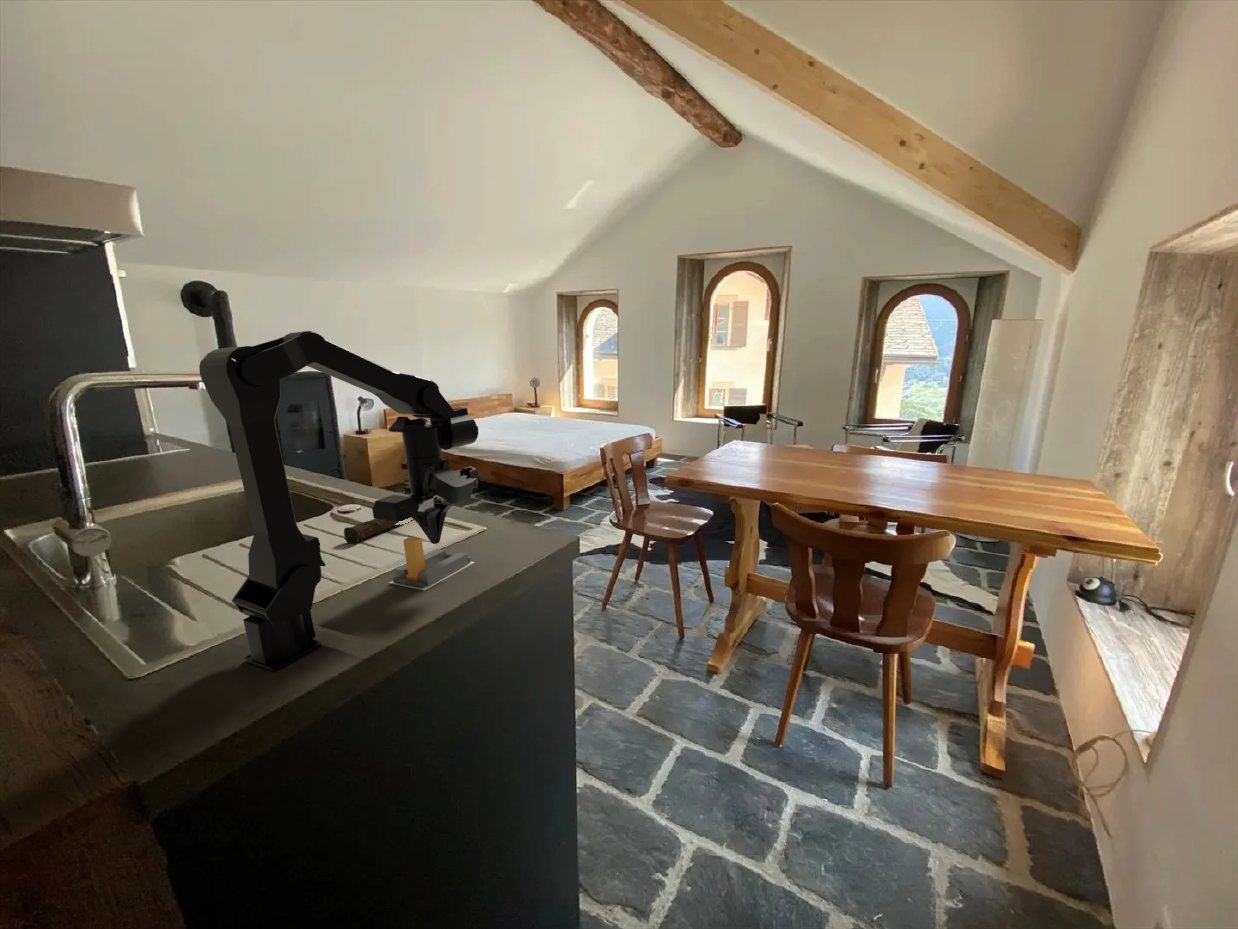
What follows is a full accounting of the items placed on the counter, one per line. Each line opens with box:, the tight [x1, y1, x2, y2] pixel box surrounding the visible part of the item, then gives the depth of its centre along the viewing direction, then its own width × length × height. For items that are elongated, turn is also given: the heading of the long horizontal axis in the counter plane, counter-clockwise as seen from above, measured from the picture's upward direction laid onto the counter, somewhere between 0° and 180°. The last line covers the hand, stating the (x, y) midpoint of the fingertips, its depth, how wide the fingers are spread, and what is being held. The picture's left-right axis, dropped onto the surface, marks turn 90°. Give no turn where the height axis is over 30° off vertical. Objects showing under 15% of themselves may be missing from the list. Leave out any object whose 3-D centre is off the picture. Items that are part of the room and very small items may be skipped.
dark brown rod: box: [343, 518, 399, 545], centre depth 117 cm, size 19×4×5 cm, turn 154°
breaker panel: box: [388, 548, 476, 591], centre depth 89 cm, size 12×8×4 cm, turn 155°
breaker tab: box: [402, 536, 426, 581], centre depth 85 cm, size 2×2×7 cm
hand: (435, 543), depth 89 cm, fingers closed
